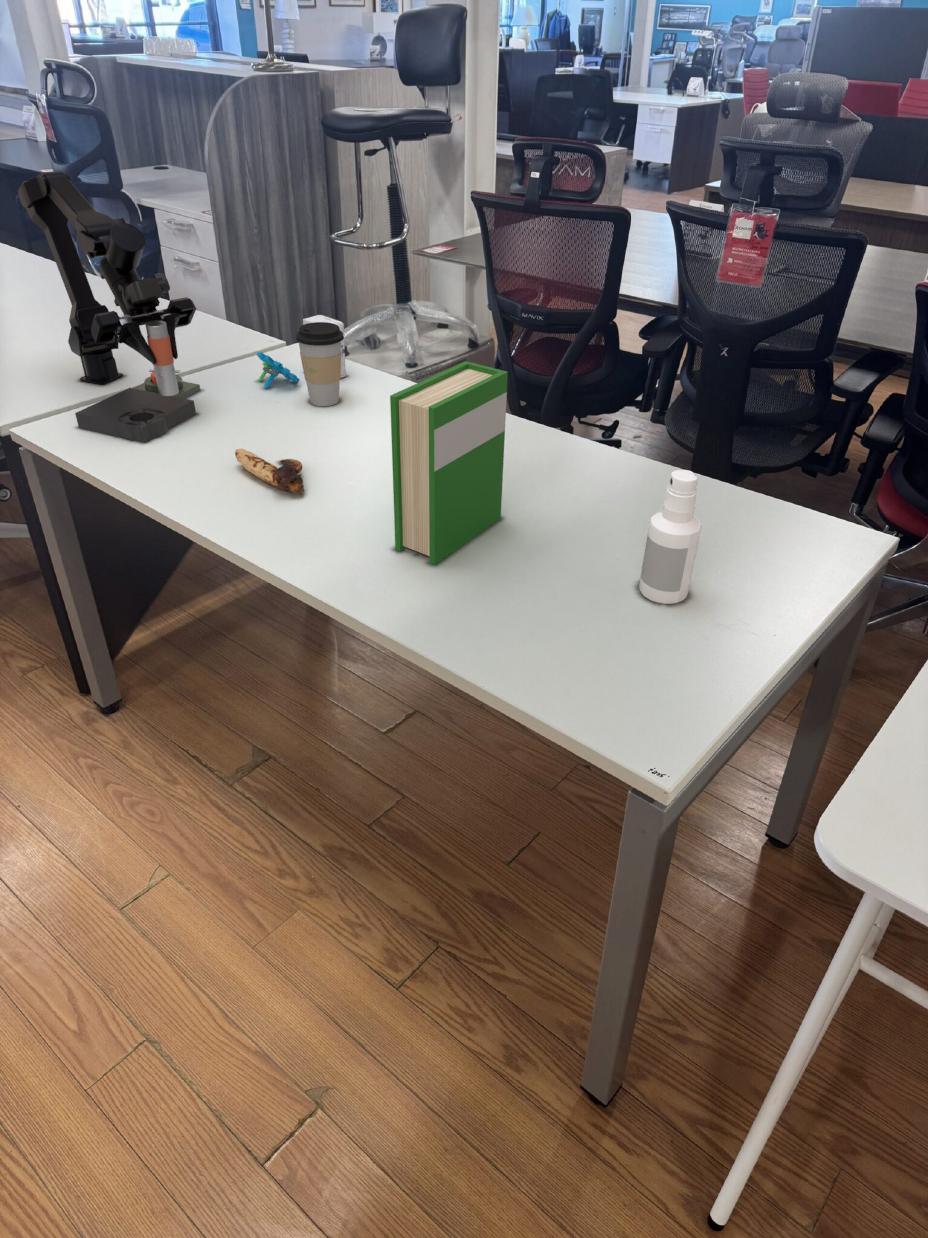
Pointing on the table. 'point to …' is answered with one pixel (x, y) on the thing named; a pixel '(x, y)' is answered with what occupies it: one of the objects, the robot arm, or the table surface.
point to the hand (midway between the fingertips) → (165, 360)
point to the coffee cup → (321, 361)
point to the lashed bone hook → (273, 471)
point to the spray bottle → (672, 543)
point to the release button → (153, 378)
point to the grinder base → (136, 414)
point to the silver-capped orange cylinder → (162, 358)
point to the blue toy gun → (274, 370)
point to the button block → (183, 387)
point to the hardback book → (448, 458)
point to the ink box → (341, 326)
